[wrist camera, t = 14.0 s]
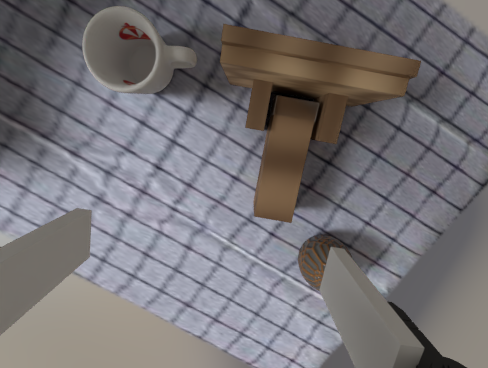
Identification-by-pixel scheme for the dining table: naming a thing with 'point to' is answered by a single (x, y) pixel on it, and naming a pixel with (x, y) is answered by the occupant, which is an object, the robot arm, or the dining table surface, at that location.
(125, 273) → the dining table surface
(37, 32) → the dining table surface
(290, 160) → the brown wooden block
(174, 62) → the cup
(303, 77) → the headboard
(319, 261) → the vase
